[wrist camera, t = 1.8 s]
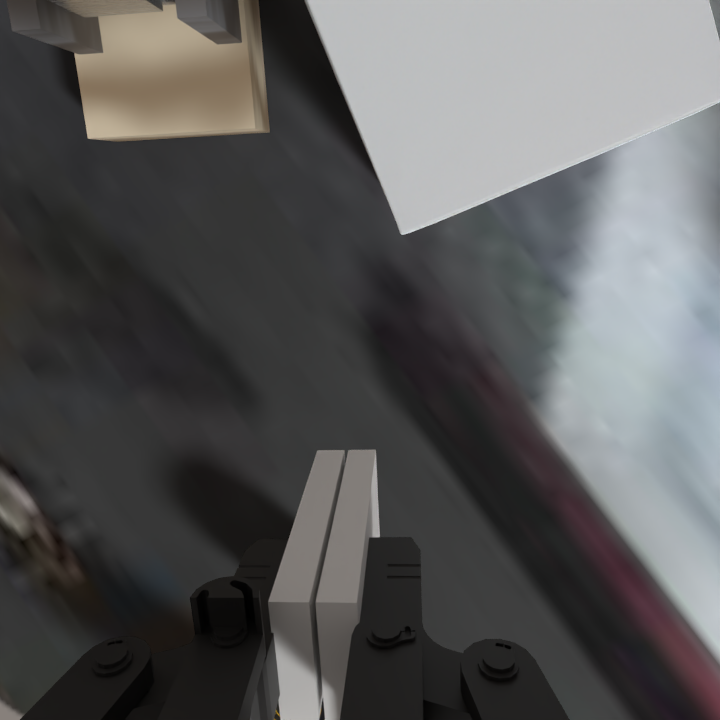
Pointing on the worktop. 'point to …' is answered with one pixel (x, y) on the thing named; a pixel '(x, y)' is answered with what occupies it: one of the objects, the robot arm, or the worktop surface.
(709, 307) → the worktop surface
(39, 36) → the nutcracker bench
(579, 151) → the supplement box
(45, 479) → the worktop surface
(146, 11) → the lever
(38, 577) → the worktop surface
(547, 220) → the worktop surface
